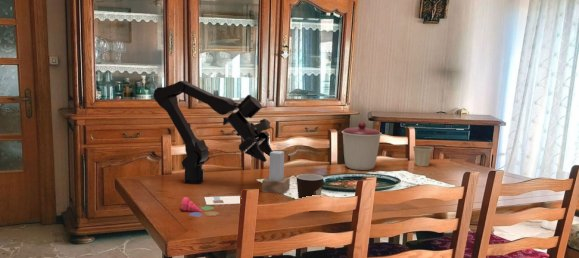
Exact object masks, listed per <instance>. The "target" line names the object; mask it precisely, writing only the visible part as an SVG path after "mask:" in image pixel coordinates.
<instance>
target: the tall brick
mask: <svg viewBox="0 0 579 258" xmlns="http://www.w3.org/2000/svg"><path fill="white" fill-rule="evenodd" d="M268 168H269V171H268V174H269V175H268V177H269V180H271V181H281V180H282V179H283V178H285V151H284V150H283V151H281V150H272V152H271V153H270V156H269V167H268Z"/></svg>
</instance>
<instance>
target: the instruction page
mask: <svg viewBox="0 0 579 258" xmlns="http://www.w3.org/2000/svg"><path fill="white" fill-rule="evenodd" d="M240 197H241V195H234V196H233V195H230V196H229V195H227V196H226V195H225V196H218V195H217V196H204V201H205V206H220V205H241V204H240Z"/></svg>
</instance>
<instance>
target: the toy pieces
mask: <svg viewBox="0 0 579 258" xmlns="http://www.w3.org/2000/svg"><path fill="white" fill-rule="evenodd" d="M180 202H181V204H180V208H181V210H182V211H183V212H189V213H188V214H187V215H188V216H189V217H197V218H199V217H202V216H203V214H202V213H203V212H204V211H206V212H204V214H206V216H217V215H219V214H220V212H217V210H216V211H209V210H214V208H215V207H214V206H211V205H204V206H201V207H199V206H198V205H196V203H194V202H193V201H192V200H190V198H189V197H188V196H184V197H183V198H182V199H181V201H180ZM203 210H204V211H203Z"/></svg>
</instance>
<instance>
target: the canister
mask: <svg viewBox="0 0 579 258" xmlns="http://www.w3.org/2000/svg"><path fill="white" fill-rule="evenodd" d="M357 126H358V127H357ZM357 126H356V127H346V128H345V129H343V130H342V131H341V133H342V142H343V156H344V157H343V158H344V159H343V160H344V164H345V166H346V167H347V168H348V169H351V170H356V171H369V170H373V169H374V168H375V166H376V163H377V159H378V158H377V157H378V153H379V146H380V141H381V136H383V135H382V134H383V133H382V132H380V131H379V130H378V129H375V128H371V127H367V124H366V122H365V121H360V122H358V123H357Z"/></svg>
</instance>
